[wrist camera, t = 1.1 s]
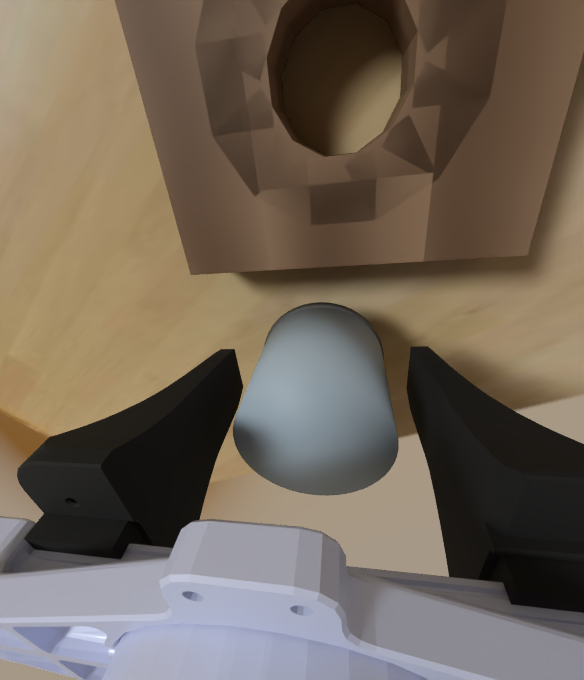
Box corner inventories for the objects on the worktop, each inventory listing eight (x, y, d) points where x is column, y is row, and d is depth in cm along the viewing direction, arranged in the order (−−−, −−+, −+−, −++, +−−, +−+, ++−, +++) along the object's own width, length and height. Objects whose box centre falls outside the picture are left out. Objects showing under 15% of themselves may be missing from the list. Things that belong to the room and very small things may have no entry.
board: (607, -270, 7) (724, -457, 5) (496, 237, 12) (527, 255, 10) (125, -122, 9) (58, -206, 7) (213, 256, 15) (190, 274, 12)
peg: (379, 278, 14) (407, 379, 8) (376, 370, 17) (394, 501, 10) (268, 283, 15) (214, 378, 9) (281, 370, 17) (247, 491, 11)
